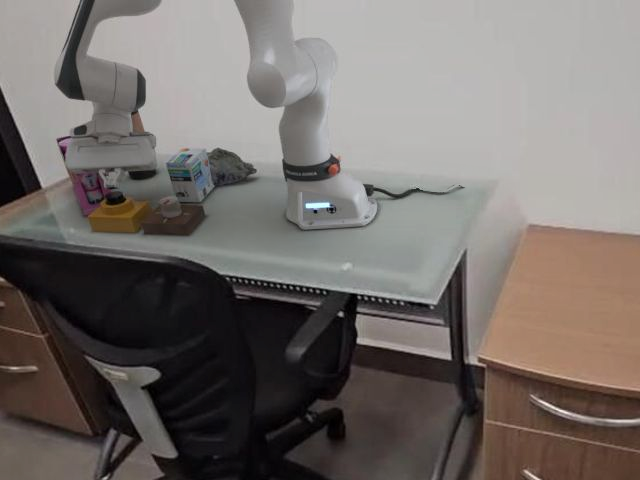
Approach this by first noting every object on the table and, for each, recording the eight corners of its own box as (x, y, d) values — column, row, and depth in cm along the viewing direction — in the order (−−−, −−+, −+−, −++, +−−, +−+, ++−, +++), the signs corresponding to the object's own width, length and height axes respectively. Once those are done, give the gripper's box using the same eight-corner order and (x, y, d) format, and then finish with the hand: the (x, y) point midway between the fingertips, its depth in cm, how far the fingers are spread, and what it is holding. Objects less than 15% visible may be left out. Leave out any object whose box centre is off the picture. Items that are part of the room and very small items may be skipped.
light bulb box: (200, 203, 157) (190, 163, 151) (175, 202, 158) (164, 163, 152) (215, 185, 166) (206, 147, 159) (192, 185, 166) (181, 147, 160)
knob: (167, 209, 148) (163, 195, 146) (184, 209, 148) (180, 195, 146) (159, 217, 145) (155, 203, 142) (177, 218, 144) (173, 203, 142)
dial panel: (205, 216, 151) (202, 204, 150) (188, 235, 143) (184, 223, 142) (163, 215, 153) (160, 203, 151) (144, 234, 145) (140, 222, 143)
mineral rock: (260, 177, 170) (253, 142, 164) (240, 193, 162) (232, 157, 156) (220, 173, 173) (211, 138, 167) (198, 188, 165) (188, 153, 159)
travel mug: (162, 172, 175) (141, 101, 163) (140, 182, 170) (117, 110, 158) (145, 167, 178) (123, 98, 166) (123, 176, 173) (99, 105, 161)
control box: (153, 215, 153) (146, 193, 149) (135, 232, 145) (127, 210, 142) (112, 214, 154) (104, 192, 150) (93, 231, 147) (84, 208, 143)
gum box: (118, 210, 156) (100, 159, 147) (85, 218, 152) (64, 167, 144) (103, 179, 172) (86, 131, 164) (73, 185, 169) (54, 138, 161)
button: (128, 199, 148) (125, 191, 147) (120, 206, 145) (117, 198, 143) (113, 198, 148) (110, 190, 147) (104, 205, 145) (101, 198, 144)
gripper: (161, 137, 150) (161, 190, 148) (76, 141, 149) (75, 195, 147) (150, 125, 144) (150, 181, 142) (62, 129, 143) (61, 185, 141)
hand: (111, 188), depth 144 cm, fingers closed
